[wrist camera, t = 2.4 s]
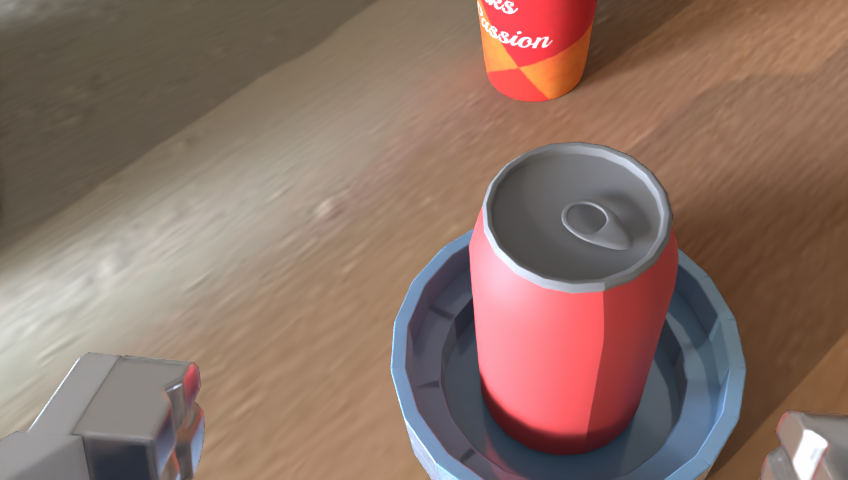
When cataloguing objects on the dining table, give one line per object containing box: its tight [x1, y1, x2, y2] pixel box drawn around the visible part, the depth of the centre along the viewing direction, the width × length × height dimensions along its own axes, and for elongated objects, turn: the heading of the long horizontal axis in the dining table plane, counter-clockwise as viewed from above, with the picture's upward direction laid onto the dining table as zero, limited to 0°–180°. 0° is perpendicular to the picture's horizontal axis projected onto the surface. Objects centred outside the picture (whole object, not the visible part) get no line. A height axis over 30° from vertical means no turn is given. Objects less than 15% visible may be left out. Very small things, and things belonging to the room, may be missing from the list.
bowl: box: [391, 228, 747, 480], centre depth 31 cm, size 13×13×4 cm
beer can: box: [469, 142, 679, 455], centre depth 28 cm, size 7×7×12 cm
